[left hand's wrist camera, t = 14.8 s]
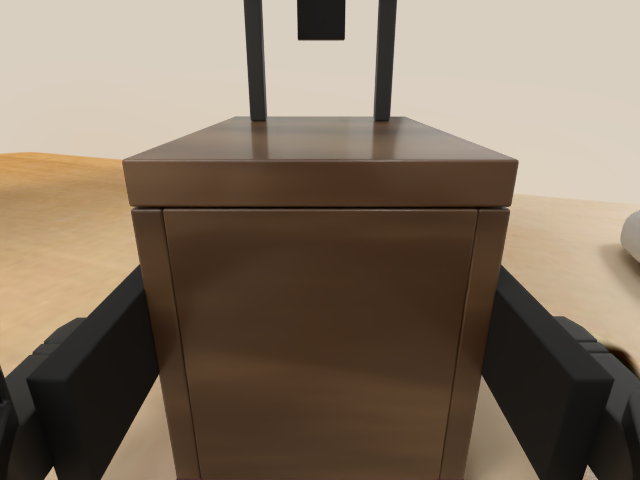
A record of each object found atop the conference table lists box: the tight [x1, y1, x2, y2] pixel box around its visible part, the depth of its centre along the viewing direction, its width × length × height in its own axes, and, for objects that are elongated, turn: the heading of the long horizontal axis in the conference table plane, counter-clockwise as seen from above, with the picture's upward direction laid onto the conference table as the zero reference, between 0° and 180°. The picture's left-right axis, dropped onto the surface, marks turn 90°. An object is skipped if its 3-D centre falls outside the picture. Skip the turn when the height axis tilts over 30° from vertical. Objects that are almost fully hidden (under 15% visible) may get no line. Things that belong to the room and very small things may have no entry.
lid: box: [122, 0, 518, 207], centre depth 14 cm, size 13×9×9 cm
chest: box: [131, 207, 510, 480], centre depth 17 cm, size 13×9×10 cm
